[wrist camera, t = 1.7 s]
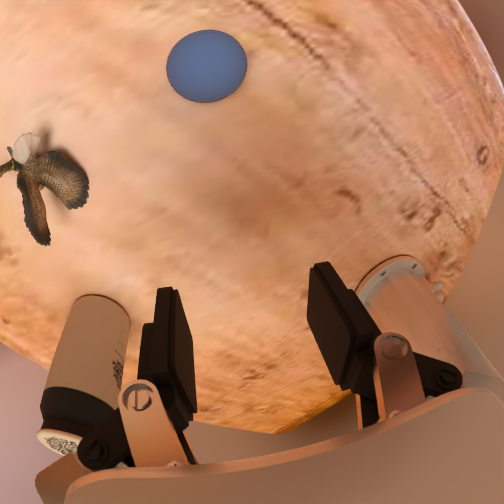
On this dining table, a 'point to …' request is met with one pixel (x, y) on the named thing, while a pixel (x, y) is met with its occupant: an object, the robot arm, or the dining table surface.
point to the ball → (206, 66)
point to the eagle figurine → (44, 182)
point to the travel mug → (84, 373)
